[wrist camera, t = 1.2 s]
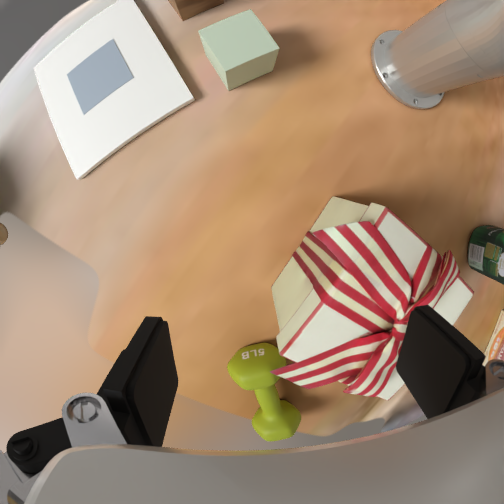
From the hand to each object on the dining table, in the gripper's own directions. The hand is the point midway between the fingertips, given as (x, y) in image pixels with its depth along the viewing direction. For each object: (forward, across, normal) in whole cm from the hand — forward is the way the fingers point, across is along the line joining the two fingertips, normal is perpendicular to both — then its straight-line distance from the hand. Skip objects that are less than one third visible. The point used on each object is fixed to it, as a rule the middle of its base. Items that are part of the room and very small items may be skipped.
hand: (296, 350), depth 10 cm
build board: (+25, +21, -21) cm, 39 cm away
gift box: (+26, -10, +6) cm, 28 cm away
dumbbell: (+25, -1, +24) cm, 35 cm away
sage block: (+26, +2, -20) cm, 33 cm away
